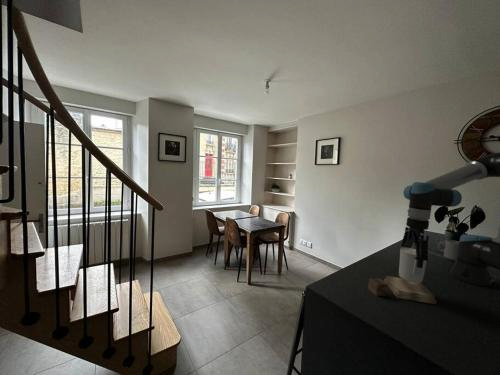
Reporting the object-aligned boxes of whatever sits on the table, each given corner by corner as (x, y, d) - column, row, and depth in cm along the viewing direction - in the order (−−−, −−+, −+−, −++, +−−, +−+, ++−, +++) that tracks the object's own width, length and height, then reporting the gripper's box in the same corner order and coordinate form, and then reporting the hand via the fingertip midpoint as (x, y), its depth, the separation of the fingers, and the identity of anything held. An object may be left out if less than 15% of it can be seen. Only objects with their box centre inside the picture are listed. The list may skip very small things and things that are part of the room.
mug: (461, 258, 143) (463, 242, 142) (461, 262, 137) (464, 245, 136) (437, 252, 151) (439, 237, 150) (436, 255, 145) (438, 239, 144)
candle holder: (416, 274, 100) (420, 249, 98) (429, 285, 90) (434, 257, 89) (392, 271, 102) (396, 246, 100) (402, 281, 92) (407, 254, 91)
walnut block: (378, 289, 97) (379, 278, 97) (386, 295, 92) (388, 284, 92) (367, 289, 96) (369, 278, 96) (375, 296, 91) (377, 284, 91)
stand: (417, 286, 102) (418, 280, 102) (435, 304, 88) (437, 297, 88) (384, 281, 105) (384, 275, 104) (397, 297, 91) (398, 290, 91)
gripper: (396, 212, 105) (390, 257, 107) (422, 223, 83) (414, 279, 85) (414, 214, 103) (407, 260, 105) (445, 225, 82) (436, 283, 84)
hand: (410, 268), depth 95 cm, fingers closed on candle holder, 9 cm apart
